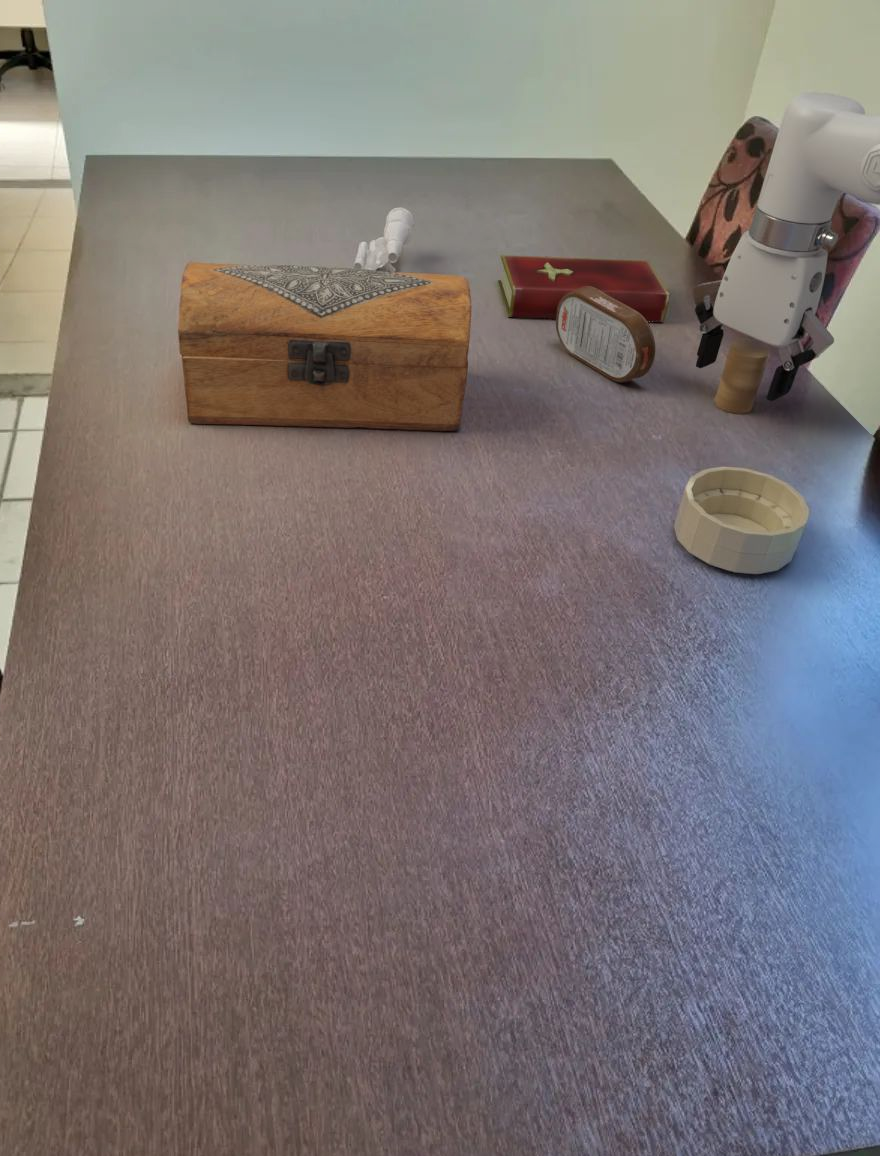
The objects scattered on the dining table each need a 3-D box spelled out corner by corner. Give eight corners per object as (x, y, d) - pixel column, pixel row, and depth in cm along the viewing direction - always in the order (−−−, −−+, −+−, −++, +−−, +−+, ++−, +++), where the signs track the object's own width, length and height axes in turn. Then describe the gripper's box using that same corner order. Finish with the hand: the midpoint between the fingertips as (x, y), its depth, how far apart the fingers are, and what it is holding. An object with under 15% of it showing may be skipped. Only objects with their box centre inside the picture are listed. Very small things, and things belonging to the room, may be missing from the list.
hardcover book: (663, 324, 130) (670, 293, 128) (508, 319, 129) (513, 287, 126) (642, 288, 139) (649, 258, 136) (497, 282, 138) (501, 252, 135)
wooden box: (182, 429, 103) (168, 302, 94) (204, 358, 116) (194, 240, 106) (462, 441, 105) (476, 317, 96) (454, 370, 117) (466, 254, 108)
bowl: (813, 549, 94) (832, 505, 90) (748, 594, 88) (766, 550, 84) (716, 496, 99) (730, 454, 96) (649, 535, 94) (662, 492, 90)
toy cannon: (375, 300, 135) (348, 271, 132) (383, 263, 145) (359, 235, 143) (417, 263, 131) (391, 232, 129) (423, 227, 142) (398, 198, 139)
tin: (648, 389, 116) (665, 322, 111) (629, 395, 115) (645, 327, 109) (565, 340, 125) (576, 275, 119) (546, 345, 124) (557, 279, 118)
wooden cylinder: (759, 406, 115) (778, 350, 110) (738, 417, 112) (756, 361, 108) (727, 391, 117) (744, 336, 112) (706, 402, 115) (723, 346, 110)
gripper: (882, 249, 99) (822, 401, 110) (738, 199, 108) (697, 344, 119) (844, 264, 95) (787, 421, 106) (698, 211, 104) (659, 360, 115)
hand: (739, 380), depth 113 cm, fingers open, 9 cm apart
